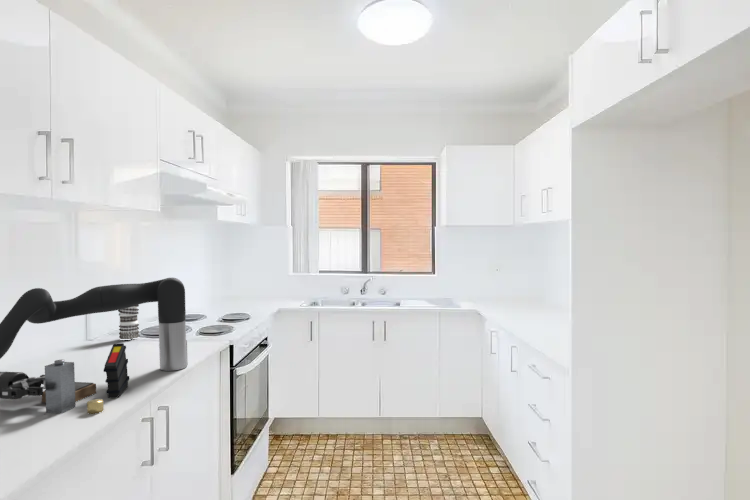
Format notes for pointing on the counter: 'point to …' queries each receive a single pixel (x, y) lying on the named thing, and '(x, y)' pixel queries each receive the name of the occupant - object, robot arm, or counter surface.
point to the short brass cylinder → (95, 406)
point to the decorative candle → (129, 323)
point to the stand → (79, 390)
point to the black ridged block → (116, 371)
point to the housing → (60, 386)
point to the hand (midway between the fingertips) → (54, 386)
